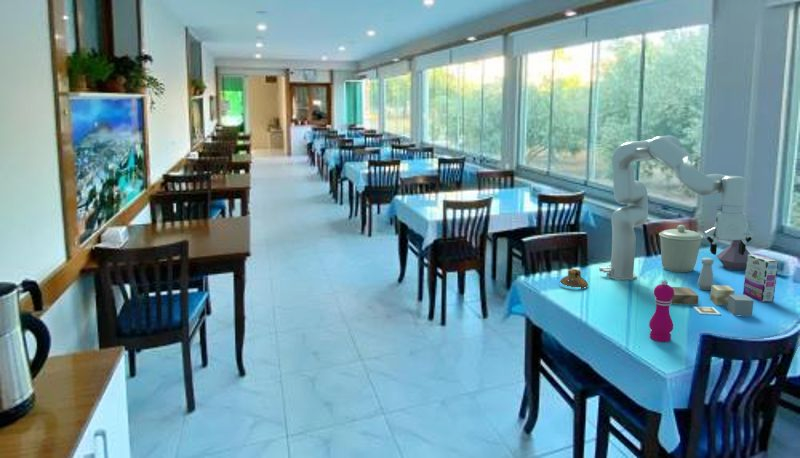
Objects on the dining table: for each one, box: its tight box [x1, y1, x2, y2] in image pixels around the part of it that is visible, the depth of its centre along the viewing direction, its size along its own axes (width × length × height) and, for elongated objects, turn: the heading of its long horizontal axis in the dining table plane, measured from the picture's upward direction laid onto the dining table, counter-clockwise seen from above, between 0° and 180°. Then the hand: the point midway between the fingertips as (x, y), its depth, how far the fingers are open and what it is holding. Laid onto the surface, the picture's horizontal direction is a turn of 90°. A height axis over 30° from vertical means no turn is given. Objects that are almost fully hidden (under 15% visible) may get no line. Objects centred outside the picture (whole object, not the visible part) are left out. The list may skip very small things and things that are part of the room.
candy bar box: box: [742, 254, 780, 303], centre depth 219 cm, size 11×5×16 cm, turn 5°
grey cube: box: [726, 294, 755, 317], centre depth 205 cm, size 6×6×6 cm
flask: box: [716, 240, 752, 271], centre depth 260 cm, size 16×16×20 cm
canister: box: [658, 224, 704, 273], centre depth 258 cm, size 18×18×21 cm
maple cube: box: [709, 284, 736, 306], centre depth 216 cm, size 6×6×6 cm
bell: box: [559, 268, 589, 289], centre depth 239 cm, size 12×12×7 cm
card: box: [692, 306, 721, 316], centre depth 208 cm, size 7×7×1 cm
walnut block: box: [671, 286, 699, 306], centre depth 220 cm, size 10×10×4 cm
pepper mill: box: [648, 279, 674, 343], centre depth 183 cm, size 7×7×20 cm
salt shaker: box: [697, 257, 715, 291], centre depth 232 cm, size 6×6×13 cm
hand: (727, 253), depth 212 cm, fingers open, 9 cm apart
